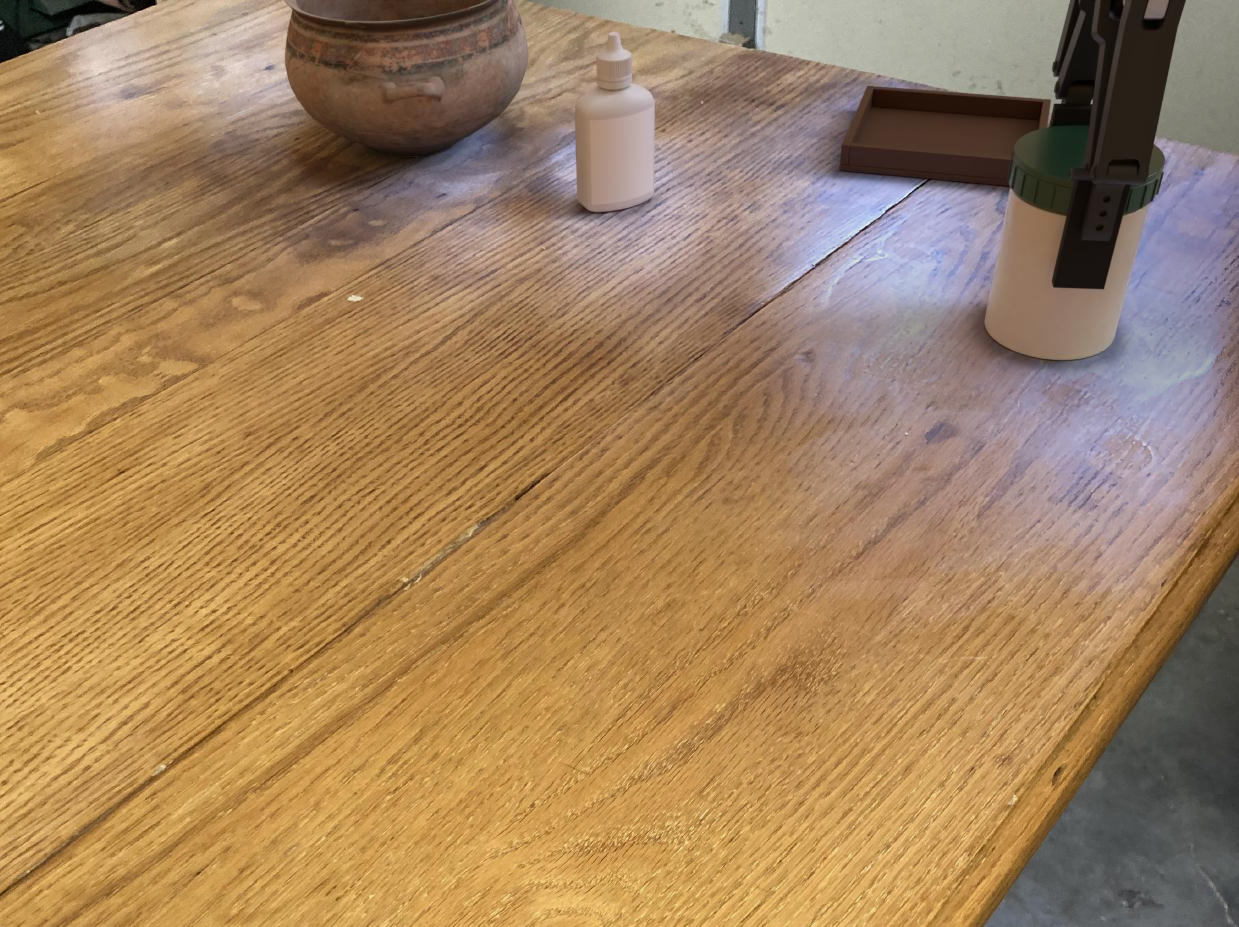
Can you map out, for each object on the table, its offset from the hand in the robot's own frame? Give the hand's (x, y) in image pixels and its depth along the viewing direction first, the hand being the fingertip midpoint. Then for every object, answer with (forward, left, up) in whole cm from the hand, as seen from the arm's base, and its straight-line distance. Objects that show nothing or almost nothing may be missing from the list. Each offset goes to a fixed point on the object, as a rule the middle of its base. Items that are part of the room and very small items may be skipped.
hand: (1066, 246), depth 77 cm
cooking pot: (+50, -18, -6) cm, 53 cm away
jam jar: (0, 0, -5) cm, 5 cm away
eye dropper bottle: (+31, -11, -6) cm, 33 cm away
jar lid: (0, 0, +5) cm, 5 cm away
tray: (+9, -26, -5) cm, 28 cm away
